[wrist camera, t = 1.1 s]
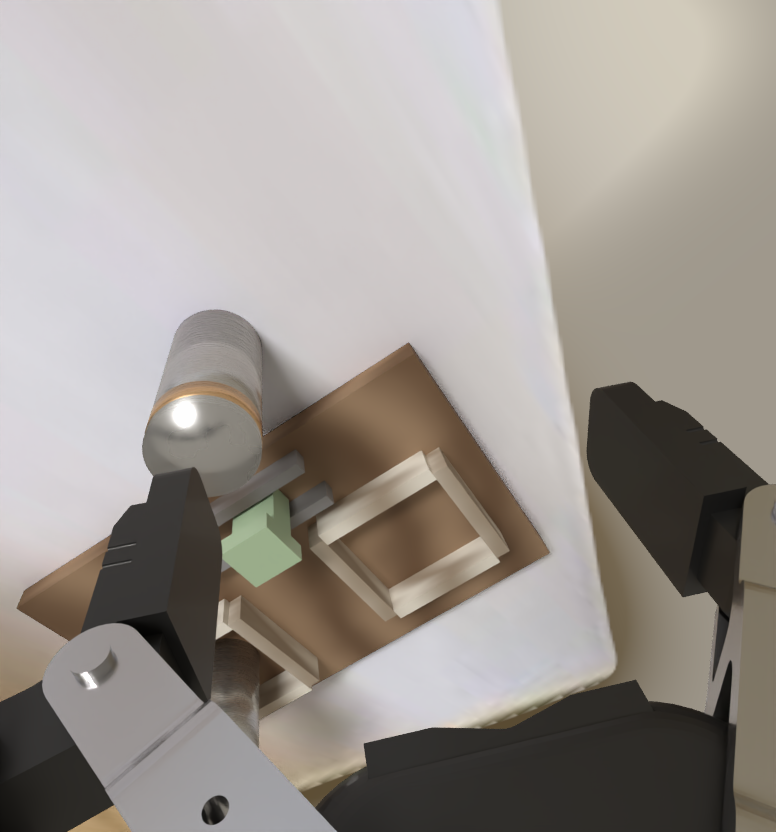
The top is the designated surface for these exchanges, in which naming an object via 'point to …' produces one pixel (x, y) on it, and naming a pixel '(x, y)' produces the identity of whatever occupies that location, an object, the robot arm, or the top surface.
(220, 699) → the seated billet
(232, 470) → the cylinder
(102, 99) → the top surface
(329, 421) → the pallet
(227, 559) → the green notched block
